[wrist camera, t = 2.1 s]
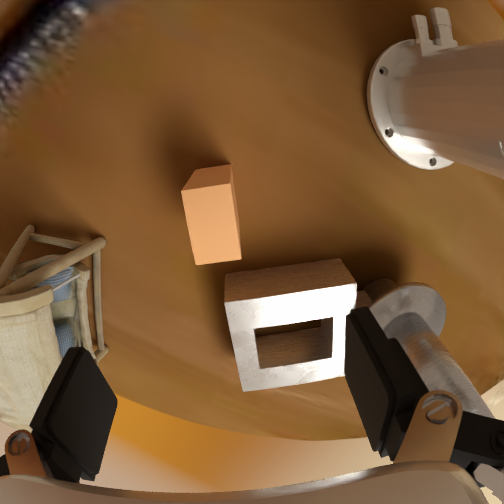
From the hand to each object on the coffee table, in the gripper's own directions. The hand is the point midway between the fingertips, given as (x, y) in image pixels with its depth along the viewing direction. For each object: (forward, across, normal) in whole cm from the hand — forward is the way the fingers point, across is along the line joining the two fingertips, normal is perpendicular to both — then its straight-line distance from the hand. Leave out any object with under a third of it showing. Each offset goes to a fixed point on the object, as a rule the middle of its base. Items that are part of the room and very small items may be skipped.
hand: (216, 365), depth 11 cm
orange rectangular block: (+19, 0, -1) cm, 19 cm away
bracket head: (+19, -9, +12) cm, 24 cm away
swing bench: (+19, +18, +5) cm, 27 cm away
